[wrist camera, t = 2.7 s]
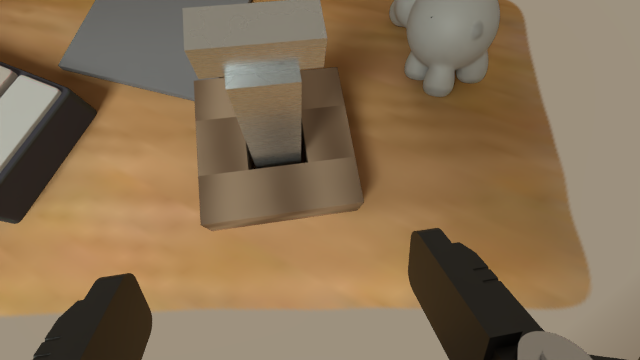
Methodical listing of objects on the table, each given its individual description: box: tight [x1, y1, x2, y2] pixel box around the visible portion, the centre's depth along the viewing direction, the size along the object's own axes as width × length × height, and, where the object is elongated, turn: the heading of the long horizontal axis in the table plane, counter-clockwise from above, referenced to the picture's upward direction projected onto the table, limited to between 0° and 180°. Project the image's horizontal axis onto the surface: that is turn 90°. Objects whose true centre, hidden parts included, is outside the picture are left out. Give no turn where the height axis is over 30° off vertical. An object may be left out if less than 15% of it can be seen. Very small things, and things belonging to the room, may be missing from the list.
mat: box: [58, 0, 252, 101], centre depth 31 cm, size 14×14×1 cm
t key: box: [182, 0, 327, 169], centre depth 21 cm, size 6×4×15 cm, turn 99°
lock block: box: [194, 67, 364, 231], centre depth 27 cm, size 12×12×3 cm
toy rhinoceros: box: [389, 0, 500, 97], centre depth 29 cm, size 7×12×8 cm, turn 22°
